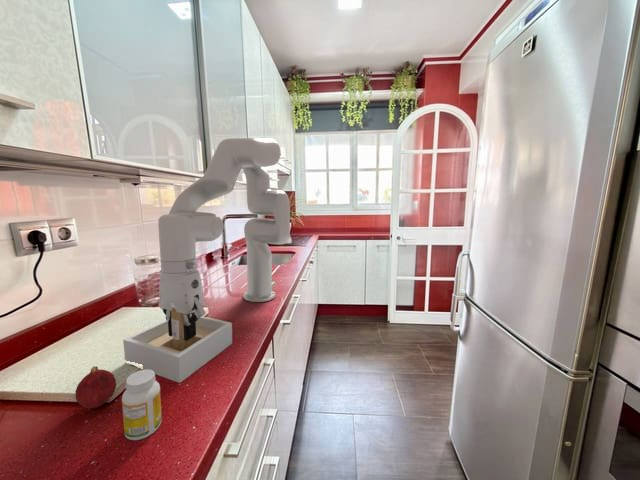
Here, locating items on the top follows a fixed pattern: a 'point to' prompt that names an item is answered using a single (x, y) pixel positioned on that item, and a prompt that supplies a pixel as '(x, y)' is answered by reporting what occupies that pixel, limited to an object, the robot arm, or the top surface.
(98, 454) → the top surface
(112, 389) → the onion
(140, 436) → the supplement bottle
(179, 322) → the sprinkles bottle
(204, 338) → the open box
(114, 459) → the top surface
